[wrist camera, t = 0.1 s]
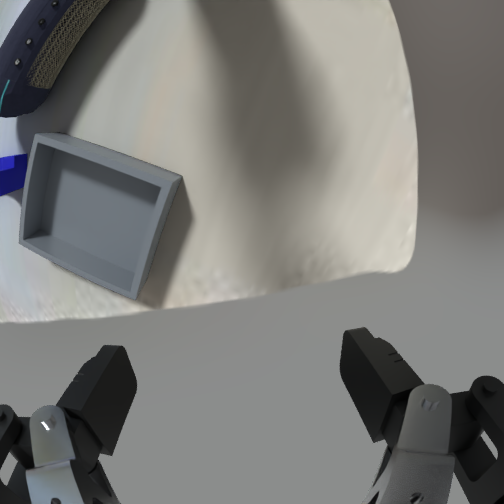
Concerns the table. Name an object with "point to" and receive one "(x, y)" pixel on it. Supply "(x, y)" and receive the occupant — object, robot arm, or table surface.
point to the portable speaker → (40, 50)
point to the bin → (94, 210)
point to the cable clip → (12, 173)
